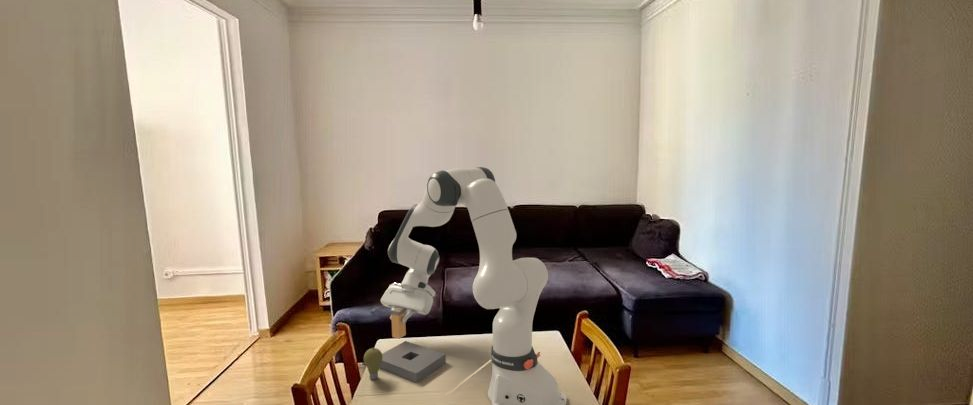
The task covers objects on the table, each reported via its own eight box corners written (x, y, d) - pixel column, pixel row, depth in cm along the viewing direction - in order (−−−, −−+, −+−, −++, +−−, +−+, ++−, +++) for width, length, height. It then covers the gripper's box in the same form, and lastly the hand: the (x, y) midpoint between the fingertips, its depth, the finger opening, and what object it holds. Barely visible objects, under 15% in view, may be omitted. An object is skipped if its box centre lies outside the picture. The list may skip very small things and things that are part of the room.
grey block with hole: (445, 364, 139) (445, 354, 139) (416, 384, 128) (416, 373, 127) (405, 350, 149) (405, 340, 149) (375, 367, 137) (374, 357, 137)
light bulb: (385, 375, 133) (384, 344, 132) (379, 384, 128) (378, 353, 126) (368, 374, 134) (367, 344, 132) (361, 384, 128) (360, 352, 127)
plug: (406, 334, 153) (404, 308, 151) (399, 338, 149) (398, 312, 148) (398, 332, 154) (397, 306, 153) (392, 337, 151) (390, 310, 149)
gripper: (387, 278, 160) (370, 311, 153) (432, 286, 151) (416, 322, 143) (395, 285, 165) (379, 319, 157) (439, 294, 155) (424, 329, 148)
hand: (397, 320), depth 150 cm, fingers closed on plug, 3 cm apart
